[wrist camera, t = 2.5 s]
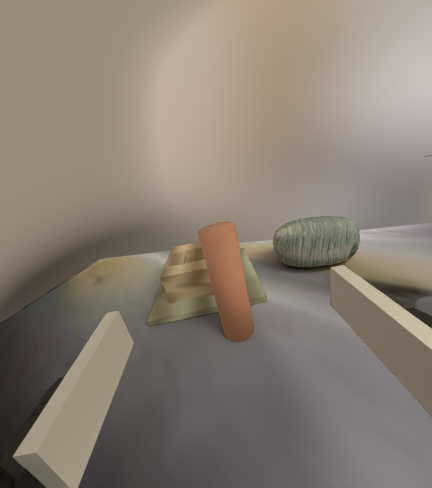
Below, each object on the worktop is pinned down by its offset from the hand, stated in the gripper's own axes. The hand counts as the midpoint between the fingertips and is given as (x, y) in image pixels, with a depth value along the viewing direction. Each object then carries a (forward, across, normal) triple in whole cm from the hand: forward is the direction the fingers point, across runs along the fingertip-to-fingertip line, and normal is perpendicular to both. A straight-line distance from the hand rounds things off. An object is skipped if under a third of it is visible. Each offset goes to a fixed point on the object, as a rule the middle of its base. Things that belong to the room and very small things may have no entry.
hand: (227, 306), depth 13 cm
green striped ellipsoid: (+22, +16, -12) cm, 30 cm away
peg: (+10, 0, -12) cm, 16 cm away
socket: (+23, -4, -12) cm, 26 cm away
